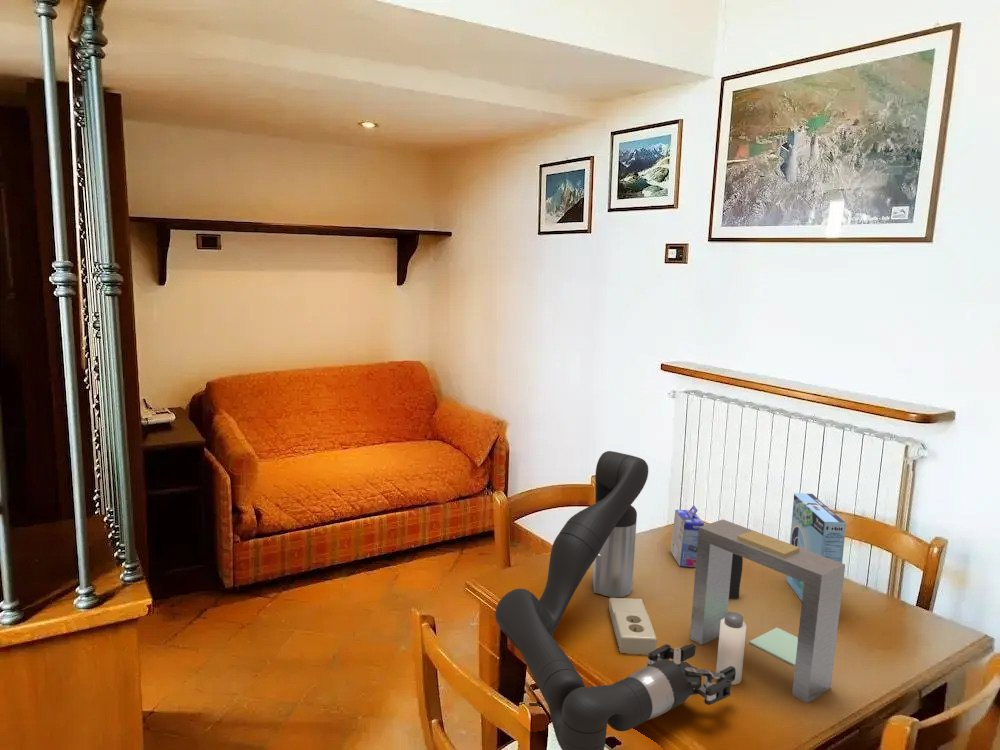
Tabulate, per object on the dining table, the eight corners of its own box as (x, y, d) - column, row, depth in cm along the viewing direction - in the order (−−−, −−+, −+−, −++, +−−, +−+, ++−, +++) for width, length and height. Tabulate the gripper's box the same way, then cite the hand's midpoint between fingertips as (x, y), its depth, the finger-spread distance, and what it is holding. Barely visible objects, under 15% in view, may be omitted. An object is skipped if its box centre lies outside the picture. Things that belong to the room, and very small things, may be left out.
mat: (794, 666, 137) (794, 664, 137) (749, 643, 145) (749, 641, 145) (821, 650, 143) (821, 648, 143) (776, 629, 151) (776, 627, 151)
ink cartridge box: (701, 568, 180) (705, 514, 178) (679, 567, 180) (683, 514, 178) (690, 552, 190) (694, 501, 188) (670, 551, 190) (674, 500, 188)
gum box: (836, 621, 155) (848, 523, 152) (812, 619, 156) (823, 521, 152) (805, 581, 174) (814, 493, 171) (784, 580, 175) (793, 492, 171)
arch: (807, 703, 126) (822, 572, 122) (689, 638, 146) (699, 524, 142) (830, 688, 130) (845, 561, 126) (713, 627, 151) (723, 516, 147)
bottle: (719, 683, 131) (724, 621, 129) (713, 669, 135) (718, 609, 133) (744, 685, 131) (750, 623, 129) (737, 671, 135) (743, 610, 133)
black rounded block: (735, 591, 168) (739, 546, 166) (740, 599, 164) (744, 553, 162) (706, 590, 168) (709, 545, 166) (710, 598, 164) (713, 551, 162)
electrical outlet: (642, 595, 157) (657, 638, 139) (640, 612, 158) (655, 657, 140) (609, 593, 157) (621, 636, 139) (608, 610, 158) (619, 655, 140)
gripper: (621, 688, 125) (680, 660, 134) (686, 733, 113) (745, 699, 123) (624, 649, 123) (683, 624, 133) (690, 691, 112) (749, 660, 122)
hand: (713, 660), depth 128 cm, fingers open, 8 cm apart
